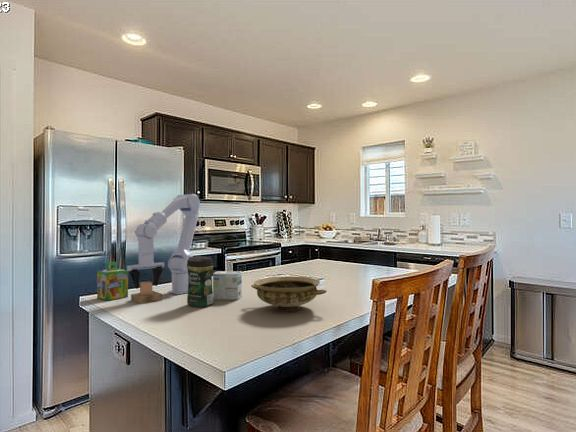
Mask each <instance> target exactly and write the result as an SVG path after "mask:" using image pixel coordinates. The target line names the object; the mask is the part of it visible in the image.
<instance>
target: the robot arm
mask: <svg viewBox="0 0 576 432" xmlns="http://www.w3.org/2000/svg"><path fill="white" fill-rule="evenodd" d="M200 205H201V201H200V199H199V196H198V195H197V194H195V193H190V194H178V195H177V196H176V197H174V198H173V199H172V201H171V202H170V203H168V205H167V206H166V207H165V208H164V209H163V210H161V211H157V212H153V213H152V216H151V217H149V218H148V219H146V220H144V222H143V223H140V224H138V225H137V227H136V228H135V230H134V234H135V236H136V237H137V242H138V244H137V246H138V247H137V248H138V249H137V250H138V255H137V256H138V264H131V265H126V270H127V271H128V274H129V275H130V277H131V279H132V281H133V285H134V288H135V289H140V273H141V272H140V271H139V270H148V269H149V270H150V269H152V275H153V282H152V284H153V286H155V287H157V286H158V285H159V280H160V277H161V274H162V273H163V271H164V268H165V262H164V261H162V262H161V261H160V262H159V261H158V262H155V261H154V259H155V258H154V257H155V255H154V249H155V248H154V237H156V235H157V232H158V230H159V229H160V228H162V227H163V226H164V225H165V224H167V221H168V218H169V217H170V216H171V215H173V214H174V213H175V212H176V211H178V210H179V211H181V213H182V214H183V215H184V216H185V218H184V221H183V226H182V230H181V233H180V236H179V241H178V244H177V249H176V250H175V251H173V252H172V254H171V257H170V258H169V259H168V261H167V267H168V269H169V270H170V273H171V290H168V291H167V293H170V294H174V295H181V294H186V293H187V294H188V270H187V261H188V259H189V257H194V256H193V255H192V254H191V252H190V250H191V247H192V243H193V239H194V236H195V235H194V234H195V231H196V226H197V223H198V219H199V209H200Z"/></svg>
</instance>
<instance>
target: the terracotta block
mask: <svg viewBox="0 0 576 432" xmlns="http://www.w3.org/2000/svg"><path fill="white" fill-rule="evenodd" d="M153 291H154V290H153V282H152V281H143V282H139V293H140V294H141V296H142V295H150V294H153Z"/></svg>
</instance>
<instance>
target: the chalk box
mask: <svg viewBox="0 0 576 432" xmlns="http://www.w3.org/2000/svg"><path fill="white" fill-rule="evenodd" d="M110 266H114V267H112V268H111V267H110ZM105 268H106V269H102V270H97V271H96V284H97V291H96V293H97V299H98V300H99V299H100V300H104V301H114V300H119V298H120V299H126V298H128V297H129V271H127V269H122V268H118V263H117V261H112V262H111V261H110V262H106V263H105ZM125 297H126V298H125Z"/></svg>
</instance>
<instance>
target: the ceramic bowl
mask: <svg viewBox="0 0 576 432" xmlns="http://www.w3.org/2000/svg"><path fill="white" fill-rule="evenodd" d="M320 283H321V281H320V280H318V279H317V278H312V277H307V276H306V277H305V276H271V277H270V276H269V277H265V278H261V279H258V280H255V281H254V282H253V283H252V284H251V288H253V289H254V290H256V295H257V297H258V298H259V299H260V300H261V301H262V302H264V303H266V304H269V305H271V306H276V307H275V309H276V310H277V311H279V312H294V311H297V310H299V306H303V305H305V304H308V303H310V302H312V301H313V300H314V299H315V298H316V297H317V296H319V295H323V294H326V293H327V289H317V287H318V286H319V285H320Z"/></svg>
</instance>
